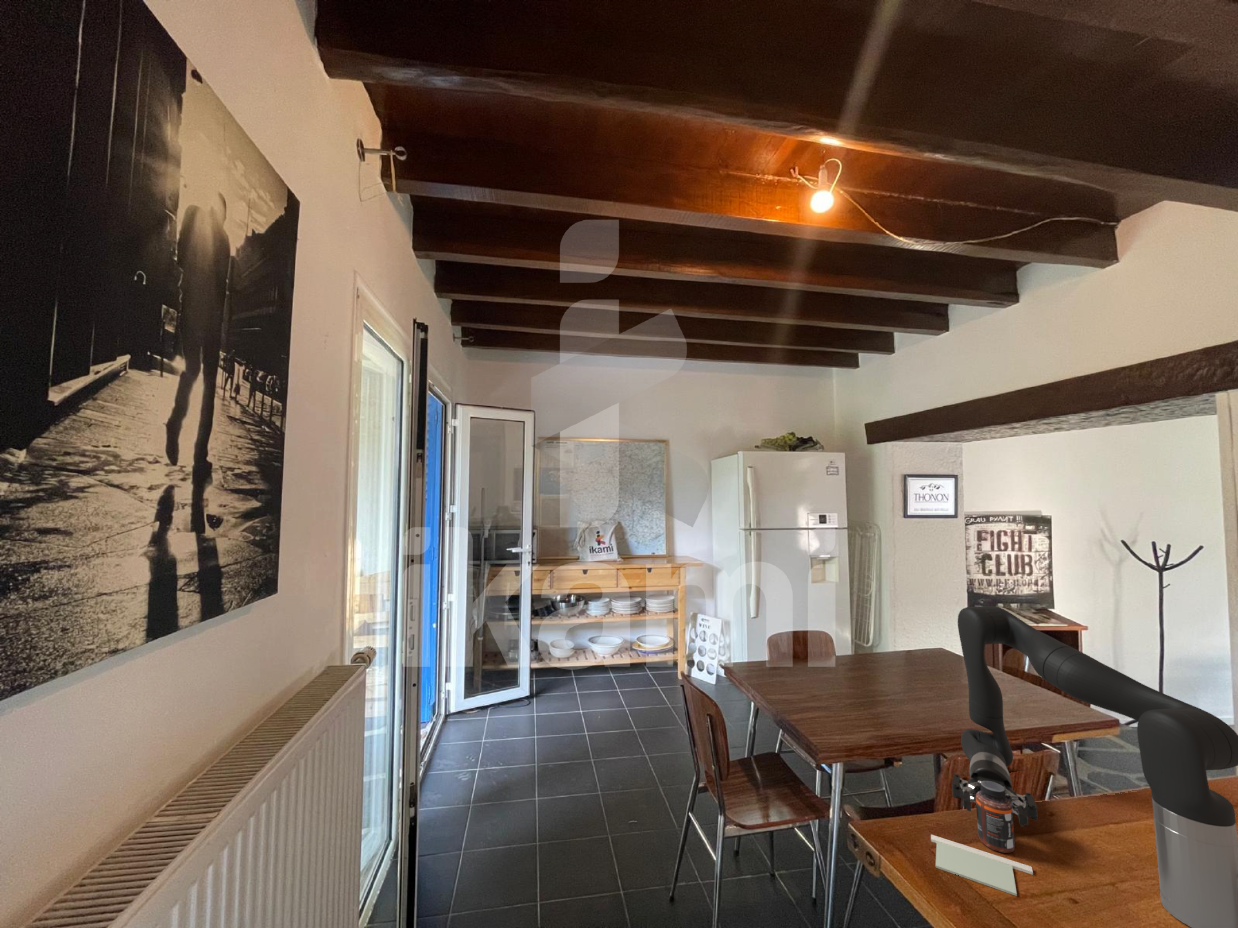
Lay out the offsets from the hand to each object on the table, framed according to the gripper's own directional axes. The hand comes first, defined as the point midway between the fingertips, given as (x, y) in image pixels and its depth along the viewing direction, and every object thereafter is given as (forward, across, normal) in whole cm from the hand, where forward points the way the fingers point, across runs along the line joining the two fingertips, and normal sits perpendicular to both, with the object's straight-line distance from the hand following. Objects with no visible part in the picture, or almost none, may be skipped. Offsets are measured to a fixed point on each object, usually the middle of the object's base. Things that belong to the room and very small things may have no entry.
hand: (994, 813), depth 98 cm
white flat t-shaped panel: (+8, -3, +6) cm, 11 cm away
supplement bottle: (-1, 0, +7) cm, 7 cm away
